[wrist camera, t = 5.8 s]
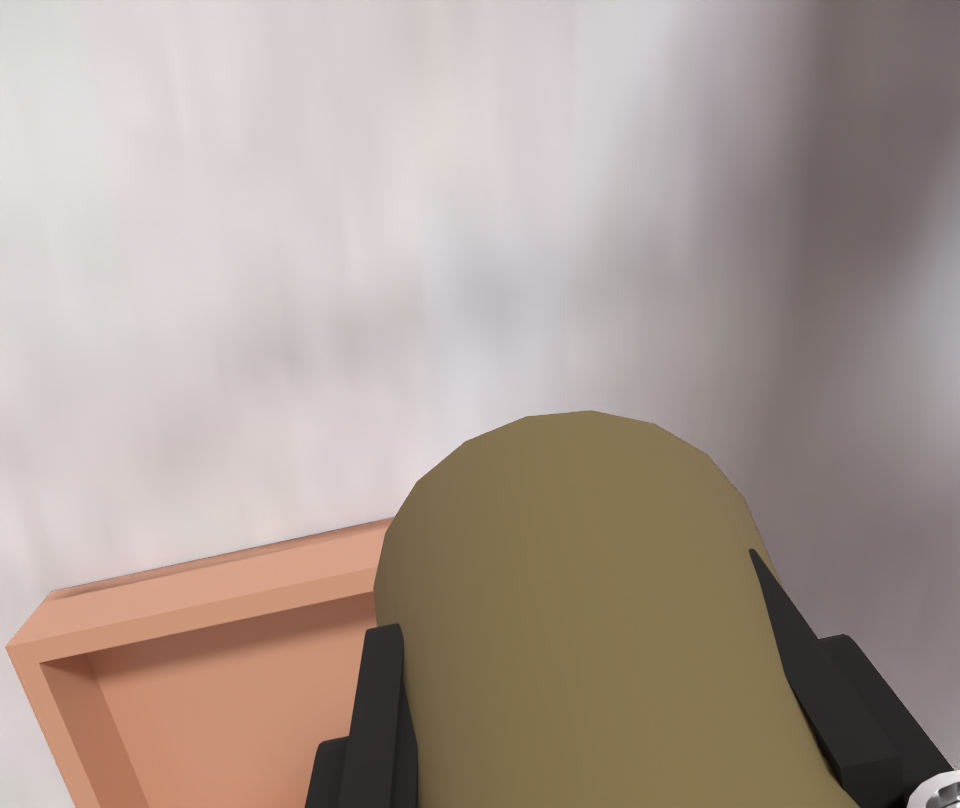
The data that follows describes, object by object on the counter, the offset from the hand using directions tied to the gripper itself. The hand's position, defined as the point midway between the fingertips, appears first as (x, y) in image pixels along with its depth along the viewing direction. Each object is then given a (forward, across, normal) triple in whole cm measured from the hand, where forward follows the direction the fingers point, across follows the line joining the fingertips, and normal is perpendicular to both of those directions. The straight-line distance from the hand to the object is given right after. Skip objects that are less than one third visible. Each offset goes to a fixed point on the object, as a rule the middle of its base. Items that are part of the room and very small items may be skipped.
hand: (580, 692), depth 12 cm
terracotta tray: (+19, +10, +11) cm, 24 cm away
